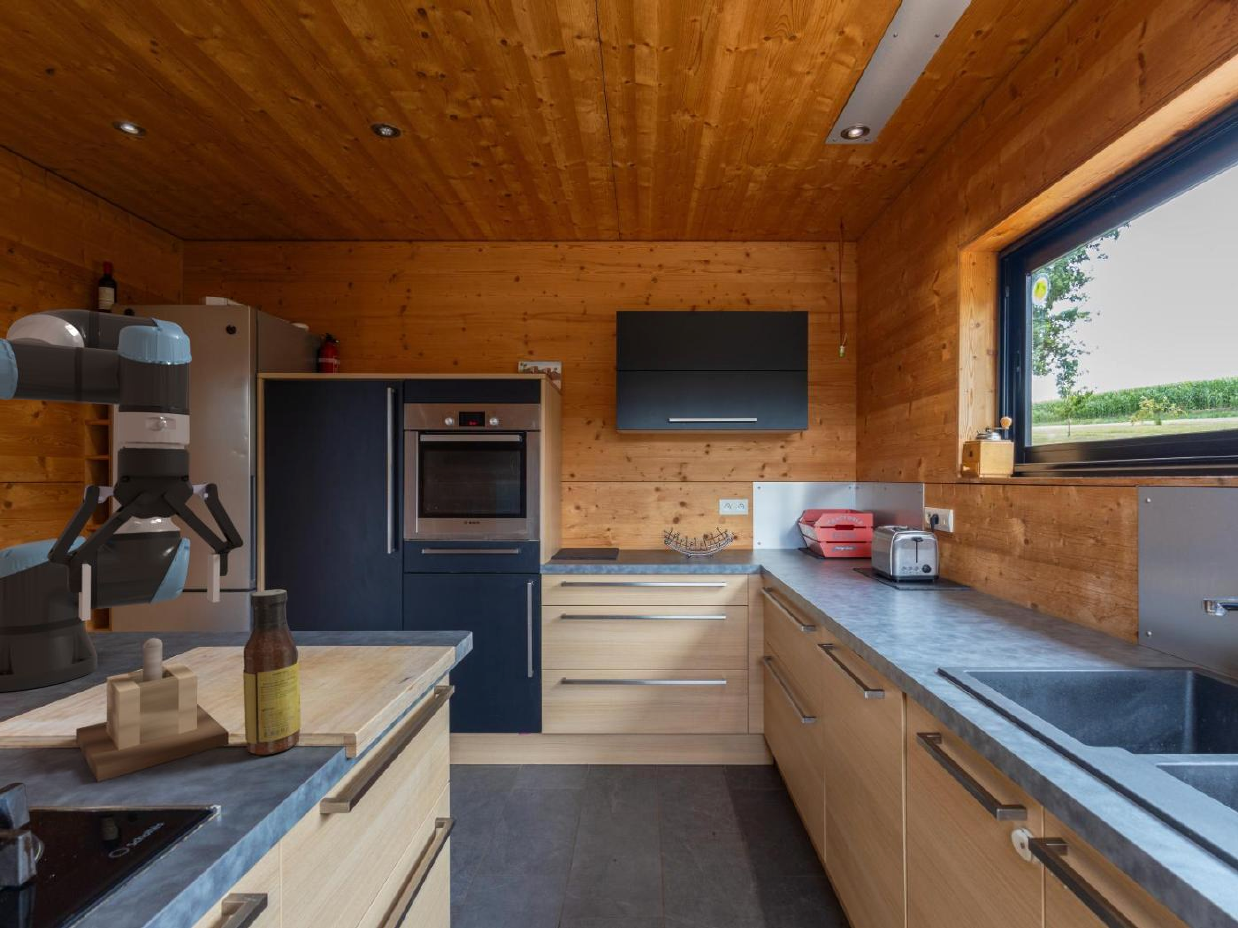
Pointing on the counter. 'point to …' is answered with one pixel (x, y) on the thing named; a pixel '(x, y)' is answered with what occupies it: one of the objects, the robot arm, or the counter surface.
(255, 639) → the sauce bottle
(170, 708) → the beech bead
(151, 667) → the rod stand
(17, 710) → the counter surface
